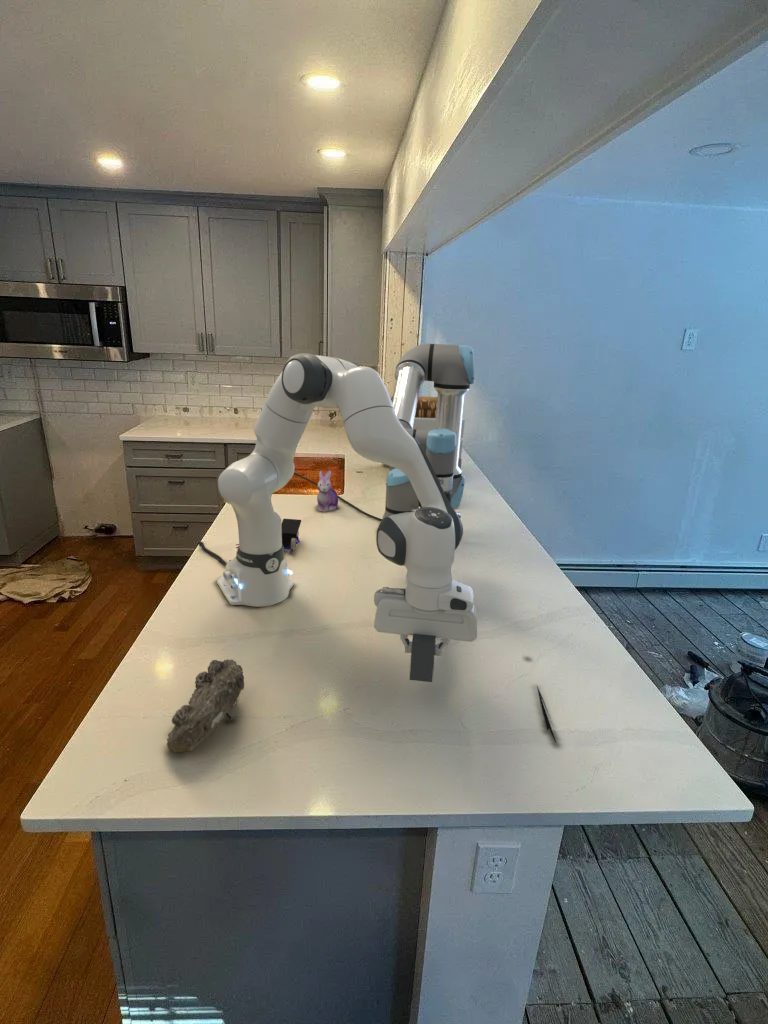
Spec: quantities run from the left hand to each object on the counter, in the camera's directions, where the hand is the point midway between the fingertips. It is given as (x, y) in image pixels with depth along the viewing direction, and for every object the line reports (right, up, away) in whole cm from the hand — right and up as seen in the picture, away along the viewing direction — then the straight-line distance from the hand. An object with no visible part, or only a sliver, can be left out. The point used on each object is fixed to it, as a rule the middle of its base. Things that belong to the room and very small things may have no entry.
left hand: (423, 652), depth 114 cm
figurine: (-30, +30, +108) cm, 116 cm away
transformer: (+9, +47, +161) cm, 168 cm away
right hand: (+5, +12, +43) cm, 45 cm away
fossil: (-41, -11, -6) cm, 42 cm away
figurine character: (-39, +17, +71) cm, 83 cm away
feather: (+24, -10, +4) cm, 27 cm away
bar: (+2, +4, +22) cm, 23 cm away
